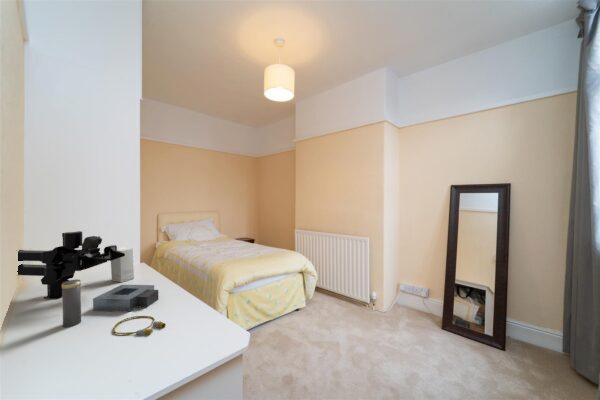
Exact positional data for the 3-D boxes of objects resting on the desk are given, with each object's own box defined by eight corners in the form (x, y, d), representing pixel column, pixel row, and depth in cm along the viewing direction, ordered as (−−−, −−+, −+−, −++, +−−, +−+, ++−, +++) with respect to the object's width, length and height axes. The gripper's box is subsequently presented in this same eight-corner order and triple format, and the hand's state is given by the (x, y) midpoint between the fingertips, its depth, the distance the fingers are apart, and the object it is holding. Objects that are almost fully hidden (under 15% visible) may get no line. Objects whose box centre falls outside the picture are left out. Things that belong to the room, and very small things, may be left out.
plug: (58, 327, 79) (57, 284, 79) (72, 319, 84) (71, 279, 83) (72, 327, 79) (71, 284, 79) (85, 320, 83) (84, 279, 83)
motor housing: (93, 310, 90) (92, 298, 90) (122, 295, 104) (122, 284, 104) (140, 311, 90) (140, 299, 89) (163, 295, 104) (163, 285, 103)
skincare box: (134, 278, 124) (134, 248, 124) (120, 283, 118) (119, 251, 118) (124, 276, 128) (124, 246, 127) (110, 280, 122) (109, 249, 121)
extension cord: (121, 347, 70) (121, 340, 70) (108, 327, 80) (108, 321, 80) (167, 329, 79) (167, 323, 79) (150, 313, 89) (150, 308, 89)
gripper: (56, 241, 93) (96, 242, 92) (99, 233, 112) (132, 234, 111) (57, 270, 93) (96, 272, 92) (99, 258, 112) (132, 259, 111)
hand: (116, 257), depth 102 cm, fingers open, 9 cm apart
